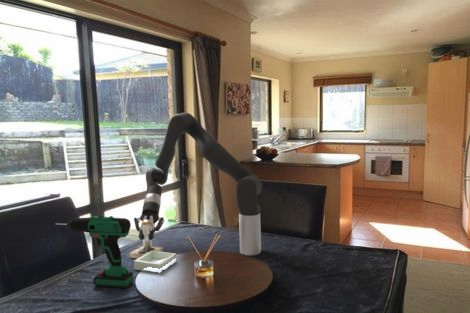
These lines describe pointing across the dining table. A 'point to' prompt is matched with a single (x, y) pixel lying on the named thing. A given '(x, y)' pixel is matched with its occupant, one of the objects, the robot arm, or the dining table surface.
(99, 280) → the power drill
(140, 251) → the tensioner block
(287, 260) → the dining table surface
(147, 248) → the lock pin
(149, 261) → the tray
